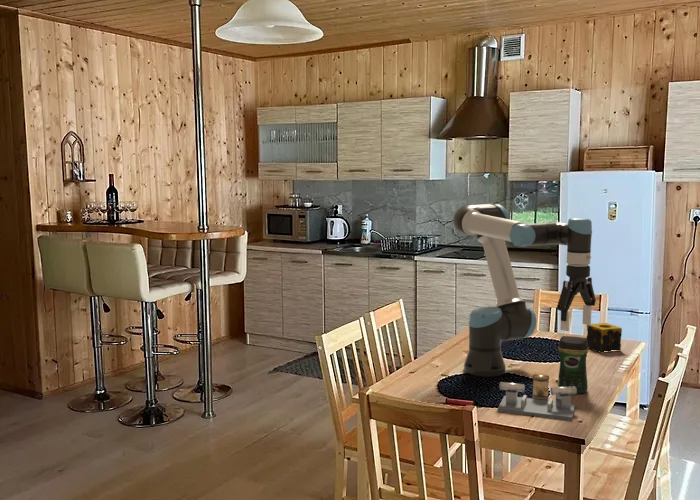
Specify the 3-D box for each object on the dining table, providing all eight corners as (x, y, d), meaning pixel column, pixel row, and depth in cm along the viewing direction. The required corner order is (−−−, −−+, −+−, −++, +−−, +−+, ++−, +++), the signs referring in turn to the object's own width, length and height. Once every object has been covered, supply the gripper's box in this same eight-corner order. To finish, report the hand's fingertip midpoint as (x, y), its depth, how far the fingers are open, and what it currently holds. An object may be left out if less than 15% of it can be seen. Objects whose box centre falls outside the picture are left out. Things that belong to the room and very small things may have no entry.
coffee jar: (588, 388, 234) (590, 335, 232) (585, 395, 227) (587, 340, 224) (559, 385, 238) (560, 332, 236) (555, 391, 231) (557, 337, 229)
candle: (585, 347, 289) (585, 324, 288) (605, 345, 292) (606, 322, 291) (600, 353, 279) (601, 329, 278) (621, 351, 282) (622, 327, 281)
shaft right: (554, 409, 211) (555, 389, 210) (548, 405, 214) (549, 385, 214) (577, 408, 212) (578, 388, 211) (571, 404, 216) (572, 384, 215)
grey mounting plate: (497, 411, 212) (497, 401, 212) (504, 398, 224) (504, 389, 224) (572, 420, 204) (572, 410, 204) (575, 406, 216) (575, 397, 216)
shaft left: (498, 403, 217) (498, 383, 216) (500, 399, 220) (501, 380, 220) (522, 406, 214) (523, 386, 213) (524, 402, 218) (525, 382, 217)
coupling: (531, 400, 222) (532, 376, 221) (533, 395, 227) (534, 372, 226) (547, 402, 220) (548, 378, 219) (549, 397, 225) (549, 374, 224)
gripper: (567, 269, 217) (565, 335, 220) (608, 262, 233) (605, 323, 236) (547, 267, 223) (544, 331, 225) (587, 260, 239) (585, 319, 241)
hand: (575, 327), depth 231 cm, fingers open, 13 cm apart
